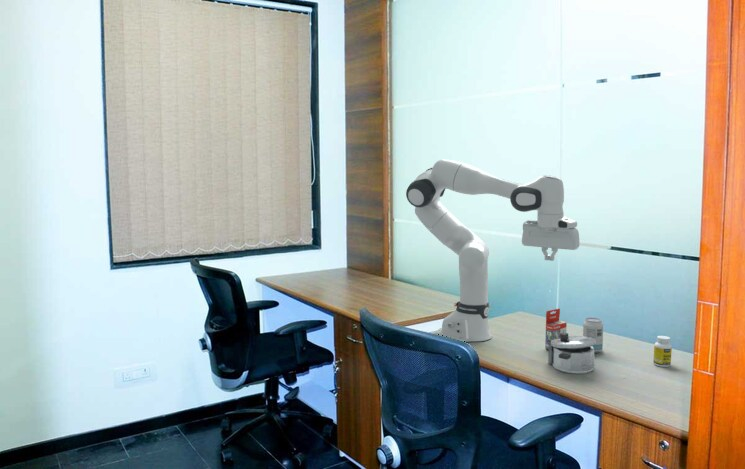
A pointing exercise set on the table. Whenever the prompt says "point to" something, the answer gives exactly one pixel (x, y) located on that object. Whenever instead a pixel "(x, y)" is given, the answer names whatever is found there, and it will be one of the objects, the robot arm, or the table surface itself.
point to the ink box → (553, 326)
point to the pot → (572, 359)
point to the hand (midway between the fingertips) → (549, 260)
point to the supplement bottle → (662, 351)
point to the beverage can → (594, 332)
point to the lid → (572, 342)
